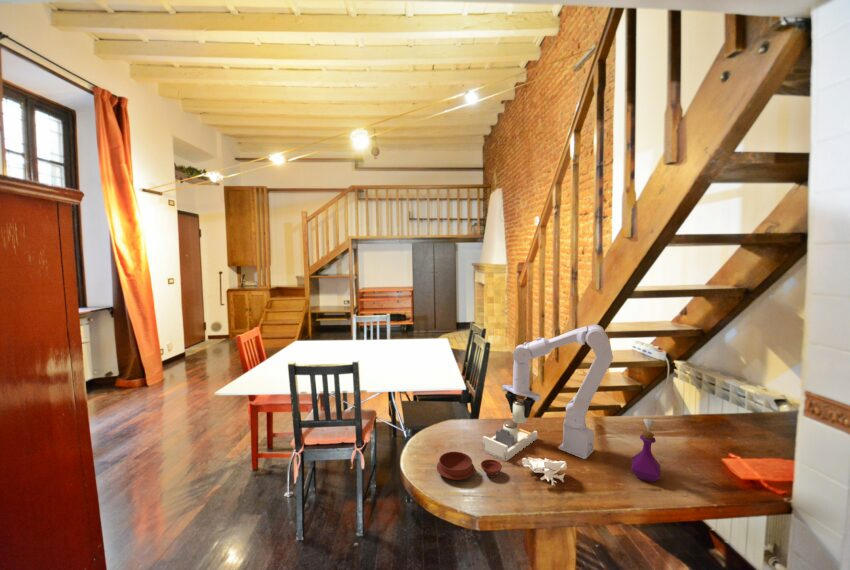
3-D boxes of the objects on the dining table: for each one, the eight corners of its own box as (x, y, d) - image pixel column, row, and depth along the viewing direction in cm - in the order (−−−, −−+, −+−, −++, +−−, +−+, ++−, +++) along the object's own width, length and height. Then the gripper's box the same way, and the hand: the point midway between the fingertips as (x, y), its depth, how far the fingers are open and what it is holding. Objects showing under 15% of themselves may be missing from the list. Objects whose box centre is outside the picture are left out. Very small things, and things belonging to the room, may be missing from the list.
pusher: (513, 448, 125) (514, 432, 124) (512, 450, 124) (512, 433, 124) (497, 441, 130) (497, 426, 129) (495, 442, 129) (496, 427, 128)
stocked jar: (520, 442, 129) (520, 423, 129) (512, 448, 126) (513, 428, 125) (508, 437, 133) (508, 419, 132) (500, 442, 129) (500, 423, 129)
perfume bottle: (659, 487, 106) (663, 428, 105) (630, 479, 110) (633, 421, 109) (659, 474, 113) (663, 418, 111) (631, 466, 117) (634, 412, 115)
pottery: (436, 462, 119) (436, 449, 118) (498, 463, 118) (498, 450, 118) (436, 485, 107) (436, 471, 107) (505, 487, 107) (505, 472, 106)
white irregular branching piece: (575, 463, 108) (545, 464, 103) (574, 488, 107) (543, 490, 102) (546, 451, 119) (517, 451, 114) (545, 473, 118) (516, 474, 113)
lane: (537, 438, 134) (537, 425, 134) (505, 461, 119) (506, 447, 119) (515, 430, 140) (515, 417, 140) (482, 450, 126) (482, 436, 125)
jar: (522, 424, 130) (523, 405, 129) (510, 420, 133) (510, 401, 132) (529, 419, 133) (529, 401, 133) (516, 415, 137) (516, 397, 136)
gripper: (545, 380, 130) (543, 417, 131) (509, 371, 140) (508, 405, 141) (535, 385, 125) (534, 424, 126) (499, 375, 135) (498, 410, 136)
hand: (520, 414), depth 133 cm, fingers closed on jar, 5 cm apart
